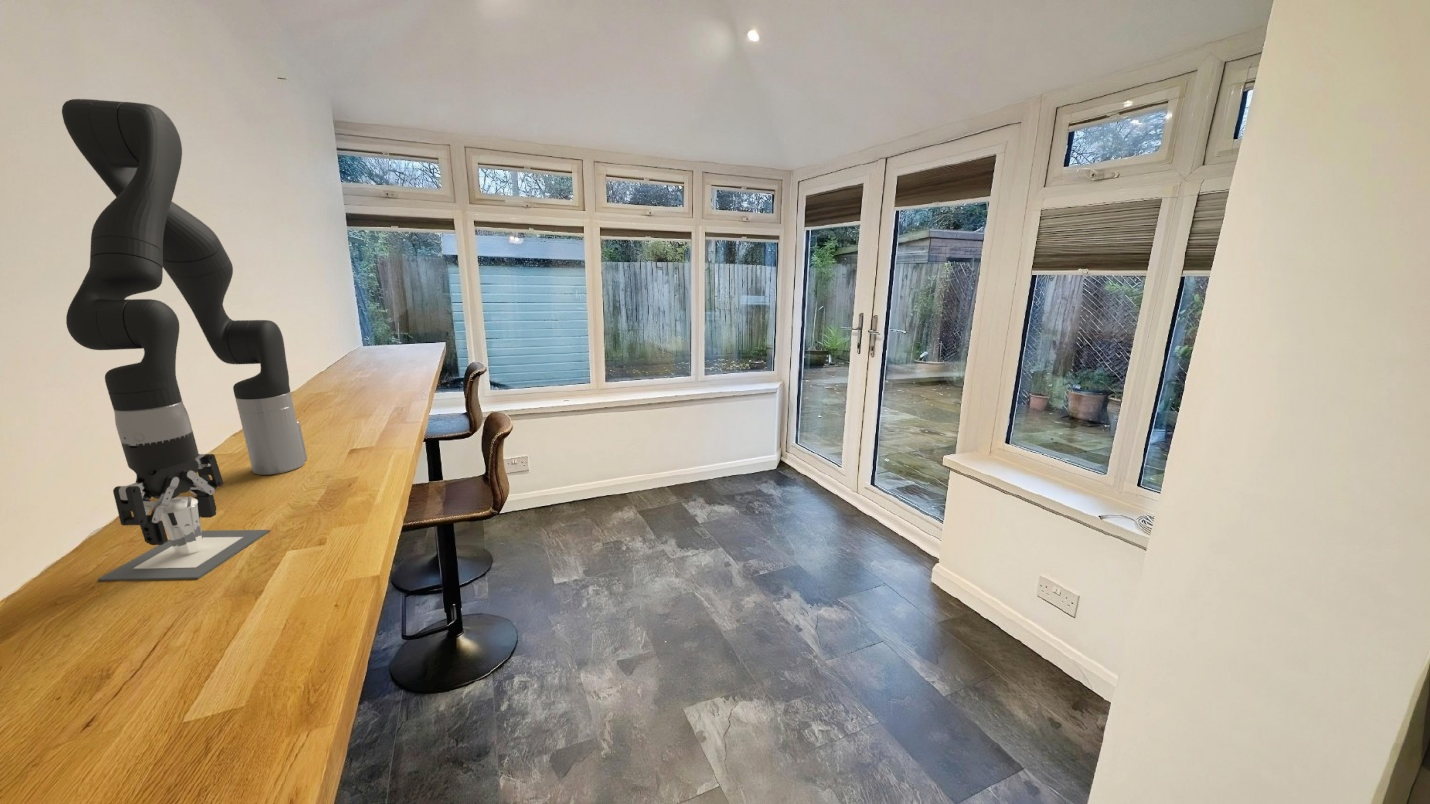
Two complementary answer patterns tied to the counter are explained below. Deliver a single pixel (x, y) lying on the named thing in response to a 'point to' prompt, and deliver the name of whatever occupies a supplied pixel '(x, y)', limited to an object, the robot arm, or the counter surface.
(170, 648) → the counter surface
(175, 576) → the pad
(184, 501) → the milkshake
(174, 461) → the robot arm
